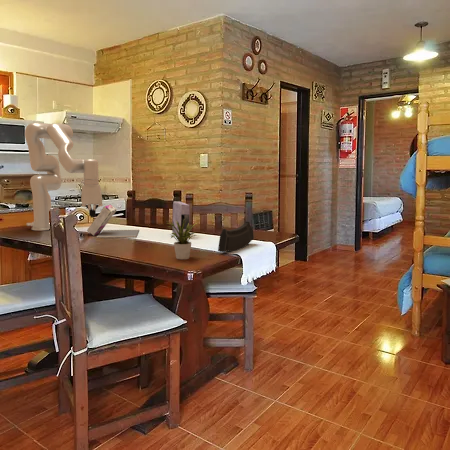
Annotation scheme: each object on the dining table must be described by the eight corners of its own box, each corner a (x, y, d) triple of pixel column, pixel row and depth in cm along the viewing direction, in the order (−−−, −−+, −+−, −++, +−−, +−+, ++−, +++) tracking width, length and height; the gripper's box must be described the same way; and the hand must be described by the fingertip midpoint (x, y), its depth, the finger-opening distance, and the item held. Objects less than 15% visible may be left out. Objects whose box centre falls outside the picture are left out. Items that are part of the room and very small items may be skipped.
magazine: (222, 234, 183) (250, 207, 208) (215, 233, 185) (244, 207, 209) (227, 270, 190) (254, 240, 214) (220, 270, 191) (248, 240, 216)
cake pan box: (190, 238, 229) (190, 204, 226) (180, 238, 227) (180, 204, 225) (180, 233, 246) (180, 201, 244) (172, 233, 245) (171, 201, 242)
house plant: (155, 260, 175) (154, 218, 173) (171, 253, 188) (171, 215, 186) (187, 263, 170) (187, 220, 168) (202, 256, 183) (202, 216, 181)
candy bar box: (92, 227, 244) (110, 204, 242) (100, 233, 244) (117, 209, 242) (85, 230, 233) (104, 205, 231) (93, 236, 233) (112, 211, 231)
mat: (96, 238, 227) (96, 236, 227) (103, 231, 251) (103, 230, 251) (136, 237, 230) (136, 236, 230) (139, 230, 253) (139, 229, 253)
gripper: (75, 183, 231) (76, 218, 233) (104, 183, 232) (105, 218, 235) (78, 182, 238) (79, 216, 240) (106, 182, 240) (108, 216, 242)
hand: (92, 217), depth 237 cm, fingers closed
